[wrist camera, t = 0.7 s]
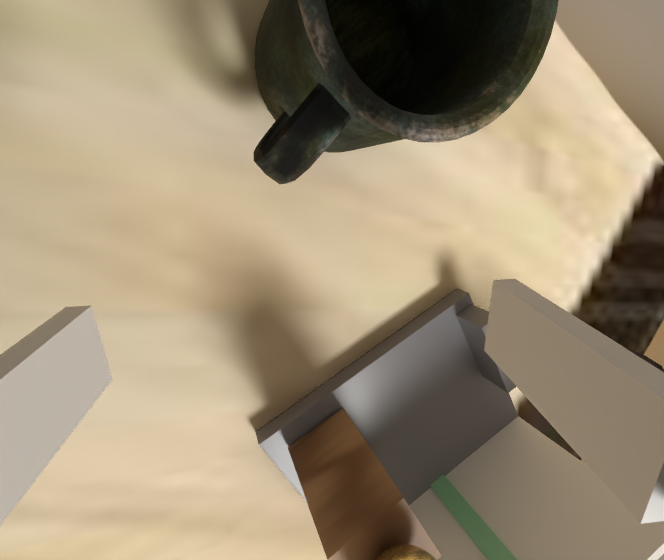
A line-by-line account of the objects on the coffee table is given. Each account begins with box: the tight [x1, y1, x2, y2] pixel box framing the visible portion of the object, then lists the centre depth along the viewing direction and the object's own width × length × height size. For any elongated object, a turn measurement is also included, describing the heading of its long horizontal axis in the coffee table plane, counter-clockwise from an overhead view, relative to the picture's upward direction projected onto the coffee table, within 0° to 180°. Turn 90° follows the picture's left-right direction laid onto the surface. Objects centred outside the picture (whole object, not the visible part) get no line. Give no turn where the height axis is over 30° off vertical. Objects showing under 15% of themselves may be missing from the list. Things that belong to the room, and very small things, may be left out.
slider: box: [288, 408, 441, 560], centre depth 23 cm, size 5×6×13 cm
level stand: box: [256, 289, 664, 560], centre depth 26 cm, size 20×16×14 cm
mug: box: [254, 0, 558, 184], centre depth 19 cm, size 11×15×12 cm
